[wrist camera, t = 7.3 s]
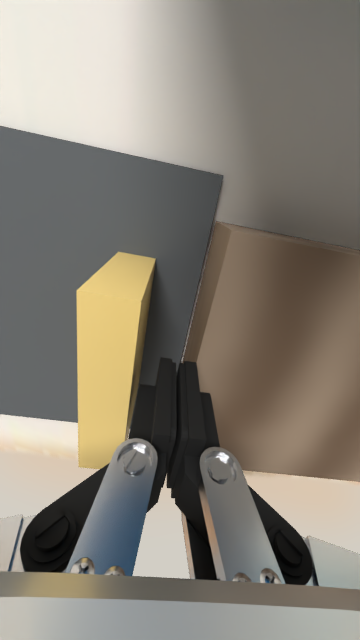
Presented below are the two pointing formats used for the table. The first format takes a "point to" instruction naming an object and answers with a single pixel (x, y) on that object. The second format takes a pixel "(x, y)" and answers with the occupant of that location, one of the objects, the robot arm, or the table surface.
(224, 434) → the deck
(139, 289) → the yellow rectangular block
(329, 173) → the table surface
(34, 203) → the mat
